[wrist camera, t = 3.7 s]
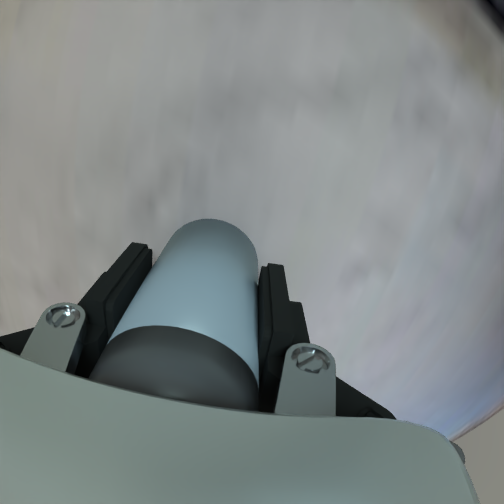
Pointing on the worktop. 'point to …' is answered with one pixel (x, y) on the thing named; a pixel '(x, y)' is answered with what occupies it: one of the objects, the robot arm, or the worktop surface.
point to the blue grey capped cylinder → (192, 323)
